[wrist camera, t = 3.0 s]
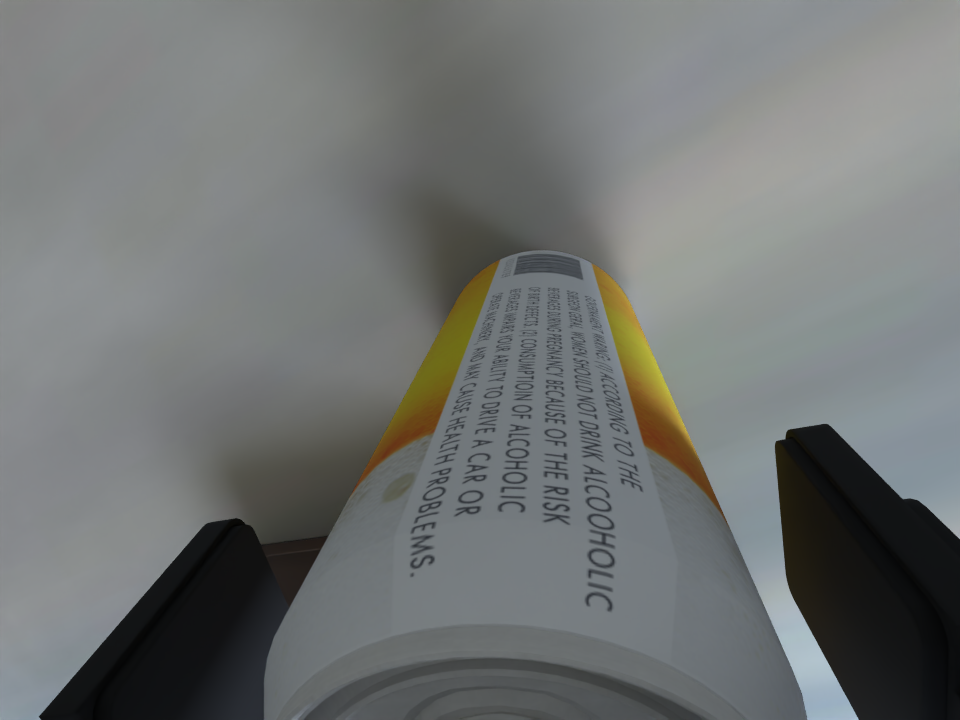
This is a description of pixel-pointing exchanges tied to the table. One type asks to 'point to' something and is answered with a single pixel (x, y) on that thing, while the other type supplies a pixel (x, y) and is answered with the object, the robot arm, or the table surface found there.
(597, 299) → the beer can
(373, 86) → the table surface
